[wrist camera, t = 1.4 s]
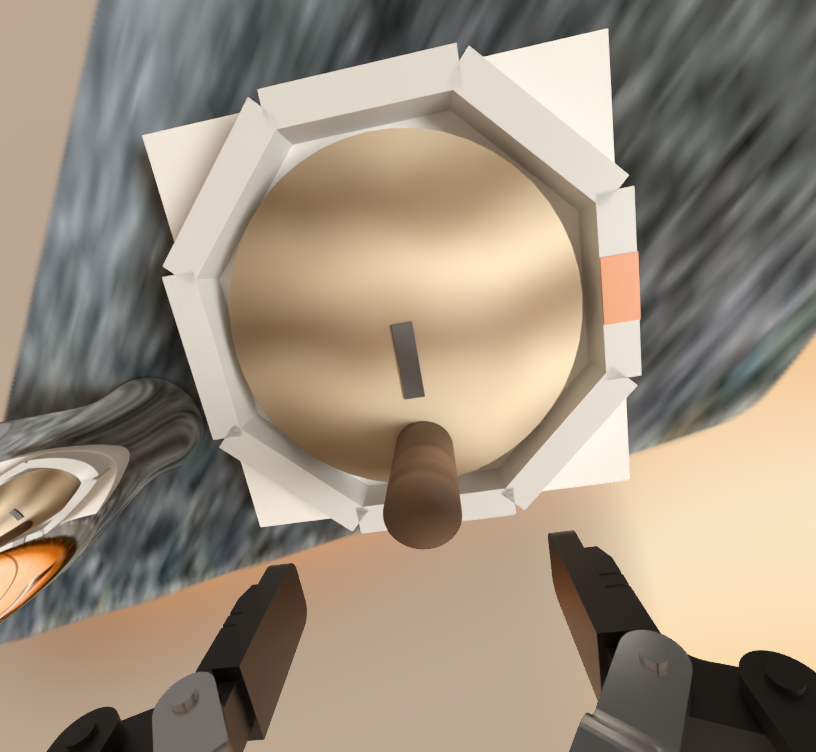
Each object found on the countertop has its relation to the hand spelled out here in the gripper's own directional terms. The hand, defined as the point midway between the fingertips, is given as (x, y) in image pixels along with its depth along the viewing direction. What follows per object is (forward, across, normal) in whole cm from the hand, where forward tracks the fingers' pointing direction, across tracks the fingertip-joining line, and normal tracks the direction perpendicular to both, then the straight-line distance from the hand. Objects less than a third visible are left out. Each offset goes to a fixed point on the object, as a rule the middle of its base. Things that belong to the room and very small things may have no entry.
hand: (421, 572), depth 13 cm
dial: (+10, 0, -7) cm, 12 cm away
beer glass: (+13, +17, -3) cm, 21 cm away
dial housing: (+13, 0, -7) cm, 14 cm away
